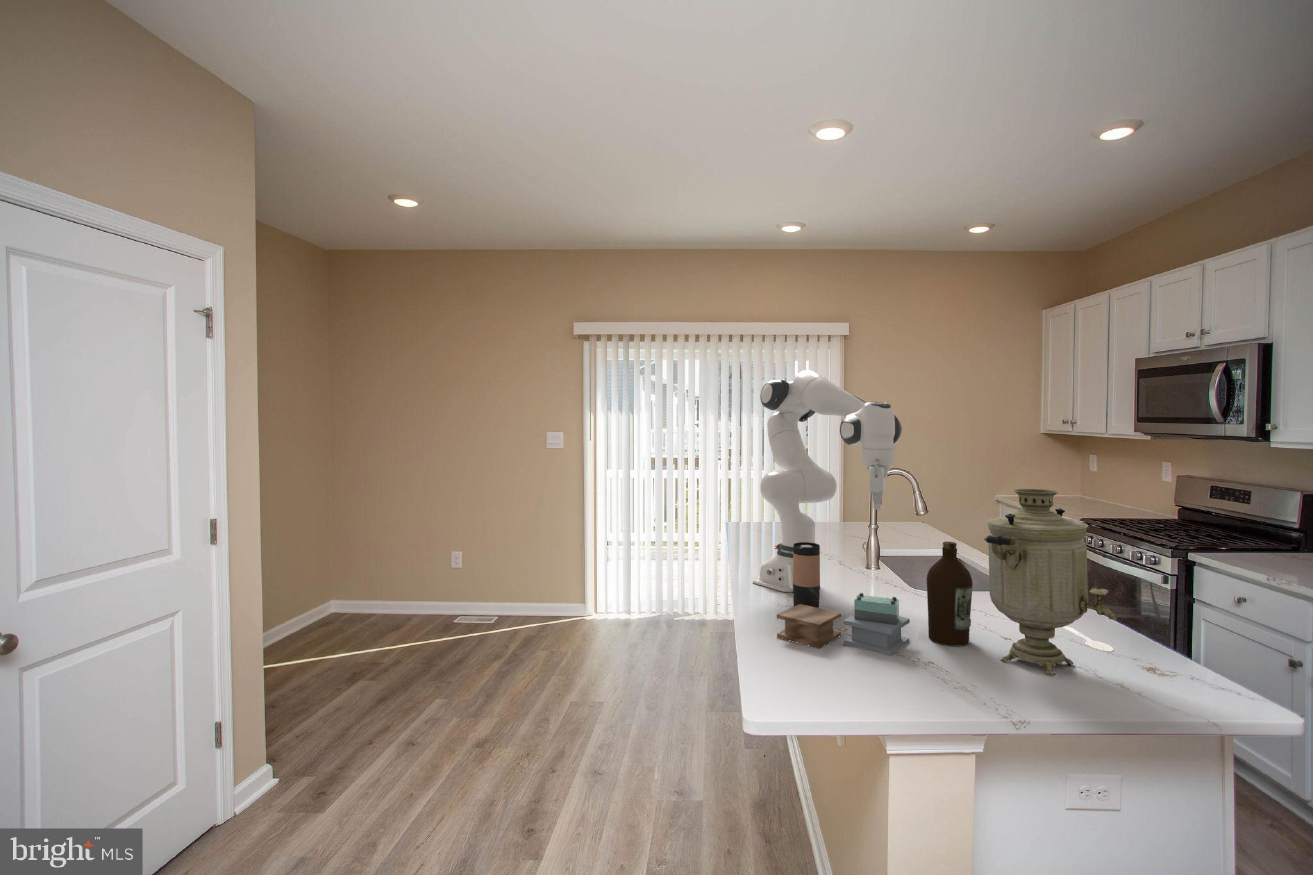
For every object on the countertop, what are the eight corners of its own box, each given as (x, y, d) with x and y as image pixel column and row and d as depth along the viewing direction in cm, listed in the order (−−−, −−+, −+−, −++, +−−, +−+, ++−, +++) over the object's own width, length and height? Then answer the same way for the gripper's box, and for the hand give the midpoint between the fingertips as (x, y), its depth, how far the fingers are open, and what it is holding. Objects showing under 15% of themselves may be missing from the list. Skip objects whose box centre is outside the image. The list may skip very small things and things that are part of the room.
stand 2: (843, 643, 159) (843, 620, 159) (863, 631, 168) (863, 609, 168) (890, 655, 151) (891, 630, 151) (909, 641, 160) (909, 618, 160)
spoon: (1075, 627, 171) (1075, 626, 171) (1120, 653, 153) (1120, 651, 153) (1054, 627, 171) (1054, 625, 171) (1097, 652, 153) (1097, 650, 153)
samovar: (1041, 700, 127) (1045, 502, 125) (948, 653, 152) (950, 487, 151) (1153, 683, 135) (1158, 496, 133) (1047, 641, 160) (1050, 483, 159)
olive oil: (917, 637, 163) (918, 541, 162) (941, 630, 169) (942, 536, 168) (956, 650, 154) (957, 548, 153) (980, 641, 160) (981, 543, 159)
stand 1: (776, 637, 164) (776, 614, 163) (799, 625, 173) (799, 603, 172) (819, 648, 156) (819, 624, 155) (841, 635, 165) (841, 612, 164)
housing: (854, 619, 159) (854, 597, 159) (857, 613, 164) (857, 592, 164) (896, 625, 155) (896, 602, 155) (898, 619, 159) (899, 597, 159)
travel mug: (817, 609, 187) (817, 542, 186) (821, 617, 179) (822, 547, 179) (791, 608, 188) (791, 541, 187) (794, 616, 180) (794, 547, 179)
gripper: (888, 461, 169) (888, 512, 170) (891, 456, 188) (890, 502, 189) (863, 460, 172) (863, 511, 172) (868, 456, 191) (868, 501, 191)
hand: (877, 507), depth 181 cm, fingers open, 8 cm apart
